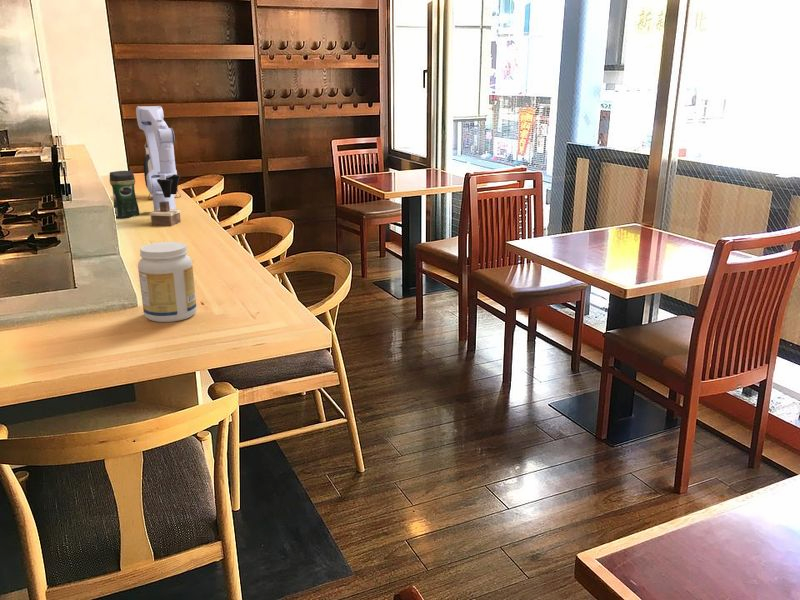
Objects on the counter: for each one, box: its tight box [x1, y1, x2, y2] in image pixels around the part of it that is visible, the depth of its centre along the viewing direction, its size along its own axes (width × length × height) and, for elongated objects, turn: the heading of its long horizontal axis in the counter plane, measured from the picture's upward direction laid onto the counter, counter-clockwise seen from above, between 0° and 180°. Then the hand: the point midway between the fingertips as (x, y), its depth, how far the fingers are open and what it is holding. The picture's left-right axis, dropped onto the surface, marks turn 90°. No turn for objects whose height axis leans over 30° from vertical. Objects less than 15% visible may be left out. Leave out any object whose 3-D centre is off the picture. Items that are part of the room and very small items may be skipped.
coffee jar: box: [109, 170, 140, 219], centre depth 275 cm, size 10×8×19 cm
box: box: [150, 212, 182, 227], centre depth 261 cm, size 8×8×4 cm
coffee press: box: [143, 141, 182, 201], centre depth 315 cm, size 17×16×30 cm
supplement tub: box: [137, 241, 198, 323], centre depth 160 cm, size 12×12×17 cm
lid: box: [148, 201, 182, 217], centre depth 260 cm, size 9×9×5 cm
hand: (170, 195), depth 264 cm, fingers open, 7 cm apart
